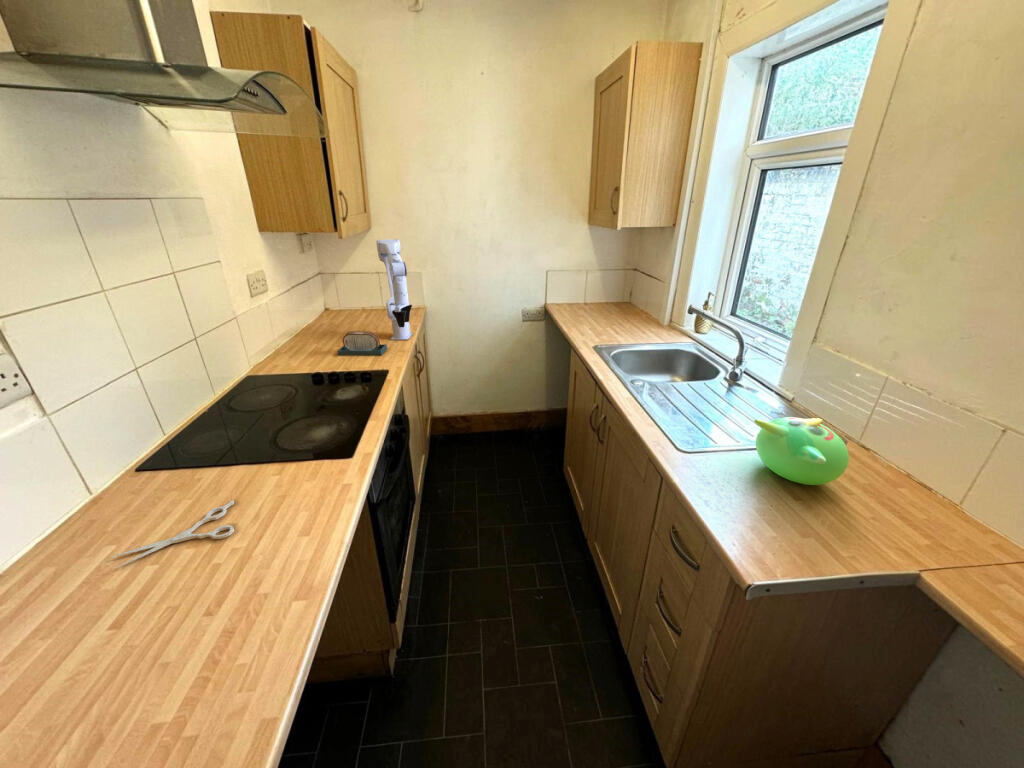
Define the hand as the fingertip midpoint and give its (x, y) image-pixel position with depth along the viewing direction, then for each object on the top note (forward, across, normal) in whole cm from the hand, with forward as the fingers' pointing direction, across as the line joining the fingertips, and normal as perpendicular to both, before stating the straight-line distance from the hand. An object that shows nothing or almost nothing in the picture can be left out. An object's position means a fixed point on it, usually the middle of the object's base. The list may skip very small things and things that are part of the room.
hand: (404, 324), depth 176 cm
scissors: (+11, +111, -16) cm, 113 cm away
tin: (+10, +6, -17) cm, 21 cm away
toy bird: (+11, +88, +114) cm, 144 cm away
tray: (+10, +6, -17) cm, 21 cm away
